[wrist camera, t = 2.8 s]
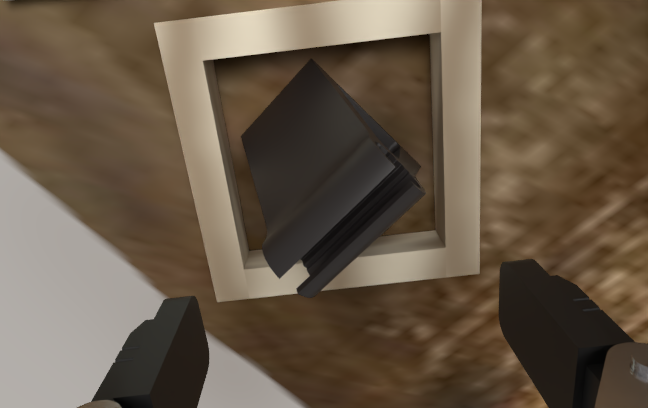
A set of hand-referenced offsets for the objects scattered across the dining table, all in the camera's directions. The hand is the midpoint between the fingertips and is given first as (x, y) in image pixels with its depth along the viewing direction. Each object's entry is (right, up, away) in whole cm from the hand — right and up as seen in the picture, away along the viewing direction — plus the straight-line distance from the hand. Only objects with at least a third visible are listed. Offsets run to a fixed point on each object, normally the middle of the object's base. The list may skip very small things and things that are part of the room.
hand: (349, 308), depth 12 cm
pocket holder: (0, +6, +16) cm, 17 cm away
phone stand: (0, +6, +16) cm, 17 cm away
